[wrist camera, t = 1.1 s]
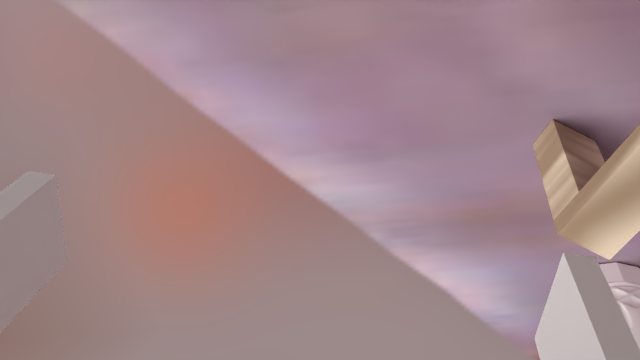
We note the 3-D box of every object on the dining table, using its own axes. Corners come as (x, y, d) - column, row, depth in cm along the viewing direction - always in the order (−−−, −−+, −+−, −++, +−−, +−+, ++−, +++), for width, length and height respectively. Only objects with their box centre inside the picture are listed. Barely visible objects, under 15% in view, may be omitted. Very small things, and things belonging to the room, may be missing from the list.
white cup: (556, 251, 41) (586, 366, 32) (681, 257, 39) (745, 378, 31) (541, 333, 45) (565, 453, 37) (654, 340, 44) (705, 467, 35)
